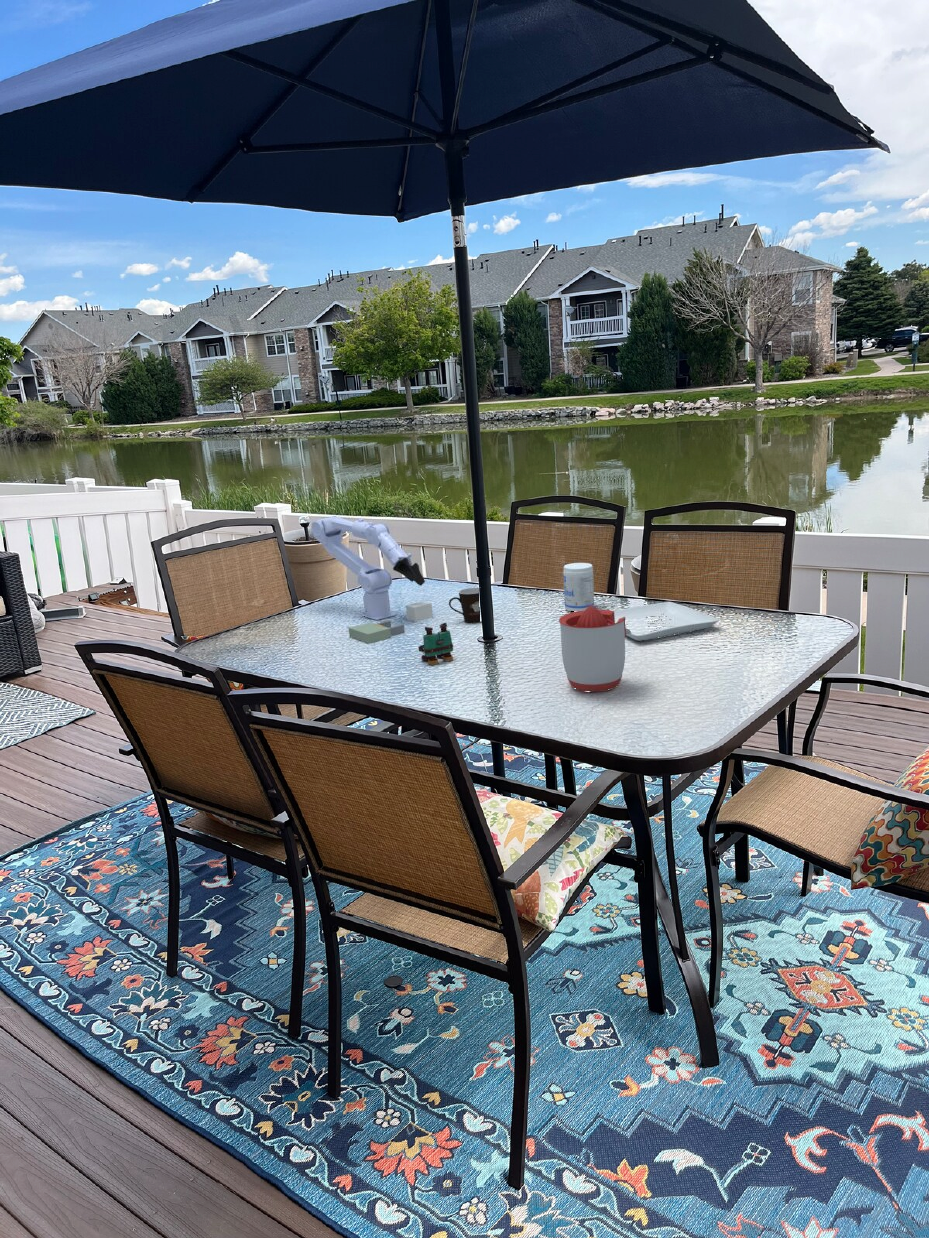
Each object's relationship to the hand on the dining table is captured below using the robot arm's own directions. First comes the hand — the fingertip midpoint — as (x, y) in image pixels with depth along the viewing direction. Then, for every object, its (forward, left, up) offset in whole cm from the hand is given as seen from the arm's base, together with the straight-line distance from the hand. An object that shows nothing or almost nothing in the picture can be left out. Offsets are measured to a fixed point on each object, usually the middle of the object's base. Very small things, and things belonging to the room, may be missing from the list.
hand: (418, 581), depth 270 cm
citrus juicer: (+86, -6, -14) cm, 87 cm away
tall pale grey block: (-5, +3, -14) cm, 15 cm away
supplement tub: (+31, +42, -14) cm, 54 cm away
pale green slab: (+1, -17, -14) cm, 22 cm away
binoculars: (+37, -20, -14) cm, 44 cm away
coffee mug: (+12, +11, -14) cm, 21 cm away
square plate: (+64, +40, -14) cm, 76 cm away
